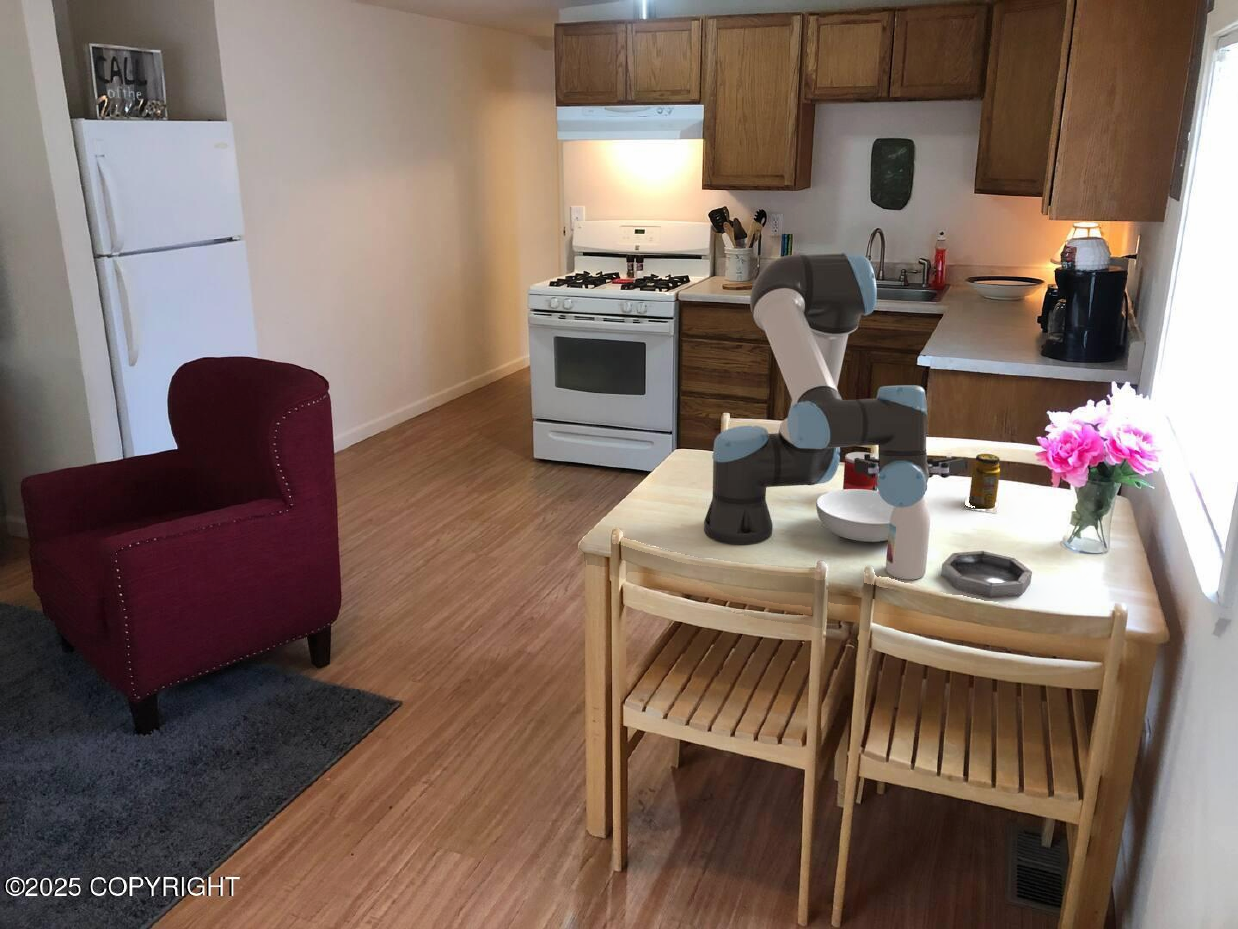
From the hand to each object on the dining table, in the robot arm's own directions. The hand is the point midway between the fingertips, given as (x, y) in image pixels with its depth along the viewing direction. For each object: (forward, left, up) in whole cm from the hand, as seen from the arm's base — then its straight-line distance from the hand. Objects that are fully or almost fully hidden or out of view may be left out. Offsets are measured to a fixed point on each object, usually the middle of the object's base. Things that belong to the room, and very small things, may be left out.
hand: (912, 460), depth 185 cm
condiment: (+2, +46, -24) cm, 52 cm away
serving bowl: (-14, +14, -24) cm, 31 cm away
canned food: (-23, +33, -24) cm, 47 cm away
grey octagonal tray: (+15, +6, -24) cm, 28 cm away
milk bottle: (+1, 0, -24) cm, 24 cm away
